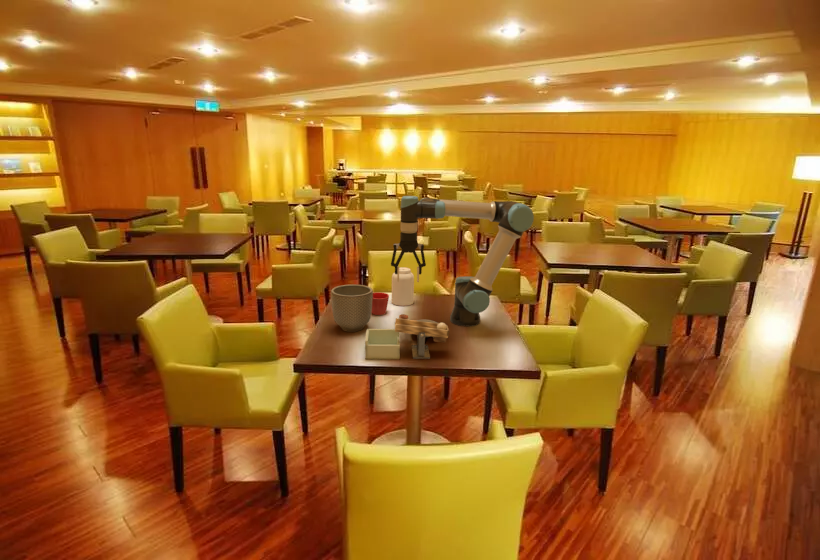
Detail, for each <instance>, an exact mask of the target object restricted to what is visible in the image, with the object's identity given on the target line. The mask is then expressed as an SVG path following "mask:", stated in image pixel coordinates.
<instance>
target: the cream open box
mask: <svg viewBox="0 0 820 560" xmlns="http://www.w3.org/2000/svg"><path fill="white" fill-rule="evenodd" d="M364 344H365V345H364V350H365V351H364V354H365V355H364V359H365V360H400V359H401V358H400V357H401V355H400V353H401V349H400V348H401V345H400V344H401V343H400V332H395V328H367V329H366V331H365V341H364Z"/></svg>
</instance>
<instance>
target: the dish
mask: <svg viewBox="0 0 820 560" xmlns="http://www.w3.org/2000/svg"><path fill="white" fill-rule="evenodd" d="M415 321H423V322H431V323H438V322H437V321H434V320H431V319H417V320H415ZM415 335H416V336H417V334H415ZM429 337H431V336H426V335H425V338H429Z"/></svg>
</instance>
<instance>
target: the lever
mask: <svg viewBox="0 0 820 560" xmlns="http://www.w3.org/2000/svg"><path fill="white" fill-rule="evenodd" d="M439 323H440V322H437V323H431V322H423V321H416V320H413V319H412V320H411V319H409V315H407V314H405V313H404V314H403V313H401V314H399V315H398V317H397V318H395V322H394V329H395V332H399V333H400V334H401V333H402V334H411V335H416V334H417V335H419V332H425V335H426V336H430V337H432V339H433V342H435V343H436V342H437V343H445V344H446V343H447V339H449V335H450V329H449V326H448V324H446V323H445V324H446V330H442V329H437V325H438V324H439ZM417 335H416V336H417Z"/></svg>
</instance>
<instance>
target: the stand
mask: <svg viewBox="0 0 820 560" xmlns="http://www.w3.org/2000/svg"><path fill="white" fill-rule="evenodd" d="M416 336H417V337H416V339H417V341H416V344H412V345H411V353H412V359H413V360H430V359H431V354H430V349H429V345H428V344H426V343H425V342H426V337H425V332H419V335H416Z"/></svg>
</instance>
